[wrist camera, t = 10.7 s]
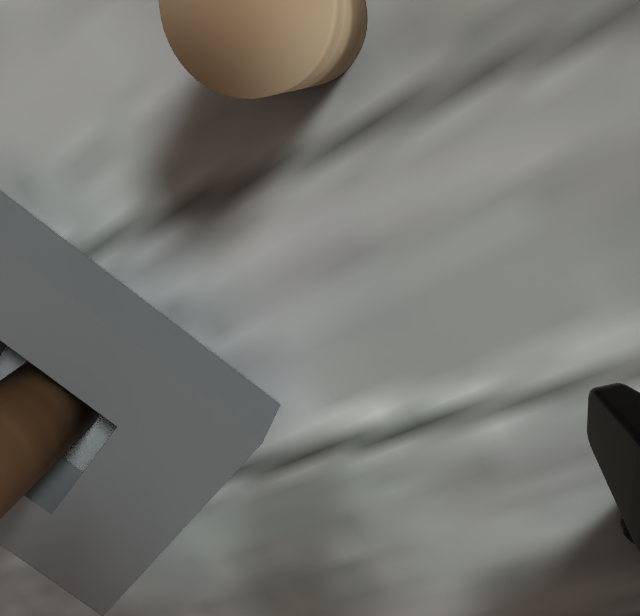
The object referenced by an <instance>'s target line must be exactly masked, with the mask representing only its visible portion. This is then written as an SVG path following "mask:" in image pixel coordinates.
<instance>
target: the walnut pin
mask: <svg viewBox="0 0 640 616" xmlns="http://www.w3.org/2000/svg"><path fill="white" fill-rule="evenodd" d="M98 416H99V413H98V412H97V411H95V410H94V409H93V408H91V407H90V406H89V405H87V404H86V403H85V402H83V401H82V400H80V399H79V398H78V397H76V396H75V395H74V394H72V393H71V392H70V391H68V390H67V389H66V388H64V387H63V386H61V385H60V384H59V383H57V382H56V381H55V380H53V379H52V378H51V377H49V376H48V375H47V374H45V373H44V372H42V371H41V370H40V369H38V368H37V367H36V366H34V365H33V364H32V363H30V362H29V361H27V362H26V363H24V364H23V365H21V366H20V367H19V368H17V369H16V370H14V371H13V372H12V373H10V374H9V375H7V376H6V377H5V378H3V379H2V380H1V381H0V519H1V518H2V517H3V516H4V515H5V514H6V513H7V512H8V511H9V510H10V509H11V508H12V507H13V506H14V505H15V504H16V503H17V502H18V501H19V500H20V499H21V498H22V497H23V496H24V495H25V494H26V493H27V491H28V490H29V489H30V488H31V487H32V486H33V485H34V484H35V483H36V482H37V481H38V480H39V479H40V478H41V477H42V476H43V475H44V474H45V473H46V472H47V471H48V470H49V469H50V468H51V467H52V466H53V465H54V464H55V463H56V462H57V461H58V460H59V459H60V458H61V457H62V456H63V455H64V453H65V452H66V451H67V450H68V449H69V448H70V447H71V446H72V445H73V444H74V443H75V442H76V441H77V440H78V439H79V438H80V437H81V436H82V435H83V434H84V433H85V432H86V431H87V430H88V429H89V428H90V427H91V426H92V425H93V424H94V423H95V421H96V420H97V418H98Z"/></svg>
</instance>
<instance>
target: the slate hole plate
mask: <svg viewBox="0 0 640 616" xmlns="http://www.w3.org/2000/svg"><path fill="white" fill-rule="evenodd" d="M6 345H7V346H9V347H10V348H11V349H13V350H14V351H15V352H17V353H18V354H19V355H21V356H22V357H23V358H25V359H26V360H28V361H29V362H30V363H32V364H33V365H34V366H36V367H37V368H38V369H40V370H41V371H42V372H44V373H45V374H47V375H48V376H49V377H51V378H52V379H53V380H55V381H56V382H57V383H59V384H60V385H61V386H63V387H64V388H66V389H67V390H68V391H70V392H71V393H72V394H74V395H75V396H76V397H78V398H79V399H80V400H82V401H83V402H85V403H86V404H87V405H89V406H90V407H91V408H93V409H94V410H95V411H97V412H98V413H99V414H101V415H102V416H104V417H105V418H106V419H108V420H109V421H110V422H112V423H113V424H114V425H116V426H117V428H116V429H115V431H114V432H113V433H112V435H111V436H110V437H109V439H108V440H107V441H106V443H105V444H104V445H103V447H102V448H101V449H100V451H99V452H98V453H97V455H96V456H95V457H94V459H93V460H92V461H91V463H90V464H89V465H88V467H87V468H86V469H85V471H84V472H81V471H80V470H79V469H77V468H76V467H75V466H73V465H72V464H70V463H69V462H68V461H66V460H65V459H63V458H62V457H61V458H60V459H59V460H58V461H57V462H56V463H55V464H54V465H53V466H52V467H51V468H50V469H49V470H48V471H47V472H46V473H45V474H44V475H43V476H42V477H41V478H40V479H39V480H38V481H37V482H36V483H35V484H34V485H33V486H32V487H31V488H30V489H29V490H28V491H27V493H26V494H25V495H24V496H23V497H22V498H21V499H20V500H19V501H18V502H17V503H16V504H15V505H14V506H13V507H12V508H11V509H10V510H9V511H8V512H7V513H6V514H5V515H4V516H3V517H2V518H1V519H0V545H2V546H3V547H4V548H6V549H7V550H9V551H10V552H12V553H13V554H14V555H16V556H17V557H19V558H20V559H22V560H23V561H24V562H26V563H27V564H29V565H30V566H32V567H33V568H34V569H36V570H37V571H39V572H40V573H42V574H43V575H44V576H46V577H47V578H49V579H50V580H52V581H53V582H54V583H56V584H57V585H59V586H60V587H62V588H63V589H64V590H66V591H67V592H69V593H70V594H72V595H73V596H74V597H76V598H77V599H79V600H80V601H82V602H83V603H84V604H86V605H87V606H89V607H90V608H92V609H93V610H94V611H96V612H97V613H99V614H100V615H102V616H103V615H104V614H105V613H106V612H107V611H108V610H109V609H110V608H111V607H112V606H113V604H114V603H115V602H116V601H117V600H118V599H119V598H120V597H121V596H122V595H123V594H124V593H125V591H126V590H127V589H128V588H129V587H130V586H131V585H132V584H133V583H134V582H135V581H136V580H137V578H138V577H139V576H140V575H141V574H142V573H143V572H144V571H145V570H146V569H147V568H148V566H149V565H150V564H151V563H152V562H153V561H154V560H155V559H156V558H157V557H158V556H159V555H160V553H161V552H162V551H163V550H164V549H165V548H166V547H167V546H168V545H169V544H170V543H171V542H172V540H173V539H174V538H175V537H176V536H177V535H178V534H179V533H180V532H181V531H182V530H183V528H184V527H185V526H186V525H187V524H188V523H189V522H190V521H191V520H192V519H193V518H194V517H195V515H196V514H197V513H198V512H199V511H200V510H201V509H202V508H203V507H204V506H205V505H206V504H207V502H208V501H209V500H210V499H211V498H212V497H213V496H214V495H215V494H216V493H217V492H218V490H219V489H220V488H221V487H222V486H223V485H224V484H225V483H226V482H227V481H228V480H229V479H230V477H231V476H232V475H233V474H234V473H235V472H236V471H237V470H238V469H239V468H240V467H241V466H242V464H243V463H244V462H245V461H246V460H247V459H248V458H249V457H250V456H251V455H252V454H253V452H254V451H255V450H256V449H257V448H258V447H259V446H260V445H261V444H262V442H263V440H264V438H265V436H266V434H267V432H268V430H269V428H270V426H271V424H272V421H273V419H274V417H275V415H276V413H277V411H278V409H279V407H280V404H279V403H278V402H276V401H275V400H274V399H272V398H271V397H270V396H269V395H267V394H266V393H265V392H263V391H262V390H261V389H259V388H258V387H257V386H255V385H254V384H253V383H251V382H250V381H249V380H248V379H246V378H245V377H244V376H242V375H241V374H240V373H238V372H237V371H236V370H234V369H233V368H232V367H231V366H229V365H228V364H227V363H225V362H224V361H223V360H221V359H220V358H219V357H217V356H216V355H215V354H214V353H212V352H211V351H210V350H208V349H207V348H206V347H204V346H203V345H202V344H200V343H199V342H198V341H197V340H195V339H194V338H193V337H191V336H190V335H189V334H187V333H186V332H185V331H183V330H182V329H181V328H180V327H178V326H177V325H176V324H174V323H173V322H172V321H170V320H169V319H168V318H166V317H165V316H164V315H163V314H161V313H160V312H159V311H157V310H156V309H155V308H153V307H152V306H151V305H149V304H148V303H147V302H145V301H144V300H143V299H142V298H140V297H139V296H138V295H136V294H135V293H134V292H132V291H131V290H130V289H128V288H127V287H126V286H125V285H123V284H122V283H121V282H119V281H118V280H117V279H115V278H114V277H113V276H111V275H110V274H109V273H108V272H106V271H105V270H104V269H102V268H101V267H100V266H98V265H97V264H96V263H94V262H93V261H92V260H91V259H89V258H88V257H87V256H85V255H84V254H83V253H81V252H80V251H79V250H77V249H76V248H75V247H74V246H72V245H71V244H70V243H68V242H67V241H66V240H64V239H63V238H62V237H60V236H59V235H58V234H56V233H55V232H54V231H53V230H51V229H50V228H49V227H47V226H46V225H45V224H43V223H42V222H41V221H39V220H38V219H37V218H36V217H34V216H33V215H32V214H30V213H29V212H28V211H26V210H25V209H24V208H22V207H21V206H20V205H19V204H17V203H16V202H15V201H13V200H12V199H11V198H9V197H8V196H7V195H5V194H4V193H3V192H2V191H0V355H1V353H2V351H3V349H4V348H5V346H6Z"/></svg>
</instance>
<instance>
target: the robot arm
mask: <svg viewBox="0 0 640 616" xmlns="http://www.w3.org/2000/svg"><path fill="white" fill-rule="evenodd" d="M587 434H588V439H589V443H590V446H591V448H592V450H593V453H594V455H595V457H596V459H597V462H598V464H599V466H600V468H601V470H602V473H603V475H604V477H605V479H606V482H607V484H608V486H609V488H610V490H611V493H612V495H613V497H614V499H615V502H616V504H617V506H618V508H619V510H620V513H621V515H622V519H621V522H620V523H621V527H622V530H623V532H624V535H625V536H626V537H627V538H628V539H629V540H630V541H631V542H633V543H634V544H635V545H636V547H637V549H638V551H639V553H640V393H639V392H638V391H636V390H634V389H632V388H630V387H629V386H627V385H624V384H621V383H615V384H610V385H605V386H601V387H596V388H593V389H592V390H591V391H590V393H589V397H588V418H587Z"/></svg>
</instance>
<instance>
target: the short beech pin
mask: <svg viewBox="0 0 640 616" xmlns="http://www.w3.org/2000/svg"><path fill="white" fill-rule="evenodd" d="M159 8H160V15H161V20H162V24H163V28H164V32H165V34H166V37H167V39H168V42H169V44H170V46H171V48H172V50H173V52H174V54H175V55H176V57H177V58H178V60H179V61H180V63H181V64H182V65H183V66H184V68H185V69H186V70H187V71H188V72H189V73H190V74H191V75H192V76H193V77H194V78H195V79H196V80H197V81H199V82H200V83H202V84H203V85H204V86H206V87H208V88H209V89H211V90H213V91H215V92H217V93H220V94H223V95H225V96H229V97H233V98H240V99H257V98H263V97H267V96H272V95H276V94H281V93H286V92H290V91H295V90H300V89H304V88H309V87H314V86H318V85H322V84H325V83H328V82H330V81H332V80H334V79H336V78H337V77H339V76H340V75H341V74H343V73H344V72H345V71H346V70H347V69H348V68H349V67H350V66H351V64H352V63H353V62H354V61H355V59H356V57H357V56H358V54H359V52H360V50H361V48H362V45H363V42H364V39H365V35H366V30H367V7H366V1H365V0H159Z"/></svg>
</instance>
